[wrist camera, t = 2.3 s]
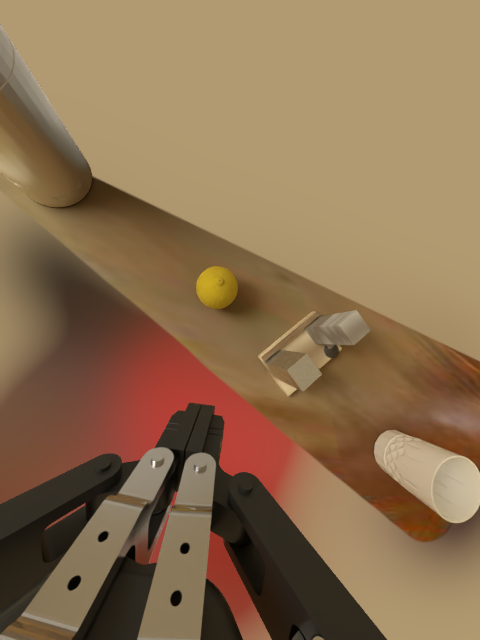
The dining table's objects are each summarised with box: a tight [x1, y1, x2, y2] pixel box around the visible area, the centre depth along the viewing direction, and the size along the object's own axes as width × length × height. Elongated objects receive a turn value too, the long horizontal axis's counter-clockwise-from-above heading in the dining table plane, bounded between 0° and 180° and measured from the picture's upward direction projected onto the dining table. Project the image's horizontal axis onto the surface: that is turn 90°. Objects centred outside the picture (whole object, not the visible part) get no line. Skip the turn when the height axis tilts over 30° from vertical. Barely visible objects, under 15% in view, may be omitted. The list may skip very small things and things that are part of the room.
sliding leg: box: [264, 350, 322, 392], centre depth 30 cm, size 5×3×9 cm, turn 38°
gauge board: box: [257, 310, 370, 397], centre depth 31 cm, size 8×12×10 cm, turn 128°
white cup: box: [374, 430, 480, 523], centre depth 33 cm, size 8×8×10 cm
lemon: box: [196, 266, 238, 309], centre depth 31 cm, size 6×6×8 cm
